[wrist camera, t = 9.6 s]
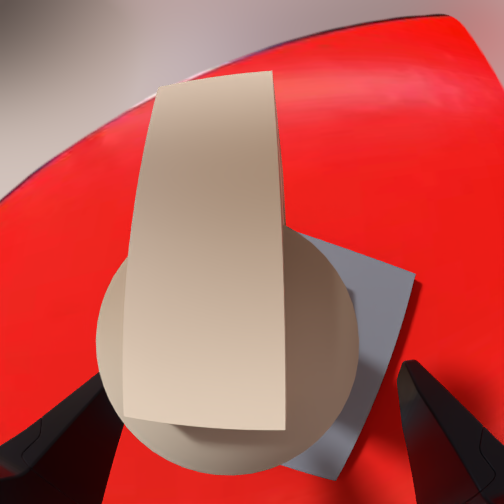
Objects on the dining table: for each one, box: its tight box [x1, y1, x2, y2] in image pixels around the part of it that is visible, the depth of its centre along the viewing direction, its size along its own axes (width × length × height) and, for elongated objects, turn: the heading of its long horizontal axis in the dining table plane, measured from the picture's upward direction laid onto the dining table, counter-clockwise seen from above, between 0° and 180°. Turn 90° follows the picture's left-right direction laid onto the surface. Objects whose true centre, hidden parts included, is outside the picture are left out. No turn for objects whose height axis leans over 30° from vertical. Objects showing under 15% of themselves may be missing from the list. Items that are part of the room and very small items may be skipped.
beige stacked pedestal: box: [96, 71, 359, 475], centre depth 10 cm, size 8×7×14 cm
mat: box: [281, 233, 415, 481], centre depth 17 cm, size 13×13×1 cm
